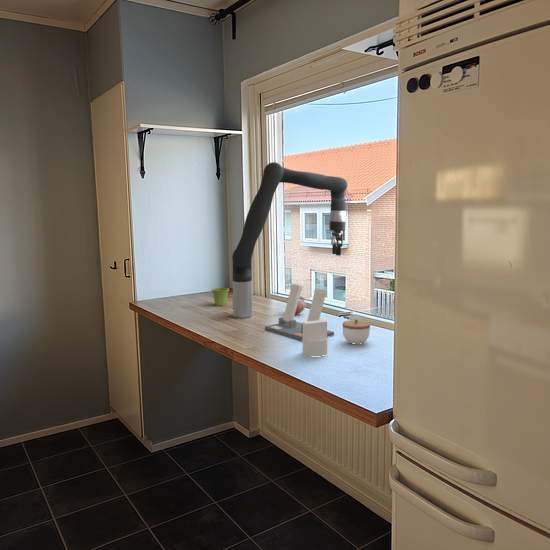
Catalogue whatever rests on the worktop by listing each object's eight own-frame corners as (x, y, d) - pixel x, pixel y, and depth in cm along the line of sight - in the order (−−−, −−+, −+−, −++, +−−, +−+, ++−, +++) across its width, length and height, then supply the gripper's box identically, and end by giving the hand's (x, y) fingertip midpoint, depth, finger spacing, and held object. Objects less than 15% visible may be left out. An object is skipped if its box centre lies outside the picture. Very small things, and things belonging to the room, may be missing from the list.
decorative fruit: (306, 312, 261) (306, 292, 260) (305, 316, 253) (305, 295, 252) (287, 312, 262) (287, 292, 261) (285, 316, 254) (285, 295, 253)
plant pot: (220, 302, 287) (219, 287, 286) (233, 304, 282) (233, 288, 281) (208, 305, 280) (207, 289, 278) (221, 307, 274) (221, 291, 273)
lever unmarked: (288, 324, 226) (299, 285, 227) (281, 322, 230) (291, 283, 231) (292, 325, 227) (302, 286, 229) (284, 323, 231) (295, 285, 233)
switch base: (305, 342, 208) (305, 331, 208) (264, 329, 228) (264, 319, 228) (333, 335, 218) (334, 324, 217) (292, 324, 238) (292, 314, 238)
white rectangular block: (309, 358, 187) (309, 325, 185) (298, 352, 195) (298, 320, 193) (331, 355, 190) (332, 323, 189) (319, 349, 199) (320, 318, 197)
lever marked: (312, 331, 214) (323, 290, 216) (304, 328, 218) (315, 288, 220) (316, 332, 216) (327, 291, 217) (307, 329, 220) (318, 289, 221)
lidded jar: (339, 344, 204) (339, 321, 203) (345, 337, 214) (346, 315, 213) (366, 347, 201) (367, 323, 199) (372, 340, 210) (372, 317, 209)
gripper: (326, 220, 257) (325, 253, 258) (332, 220, 242) (331, 255, 244) (342, 220, 257) (340, 253, 259) (348, 221, 243) (347, 256, 245)
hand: (336, 254), depth 252 cm, fingers open, 8 cm apart
